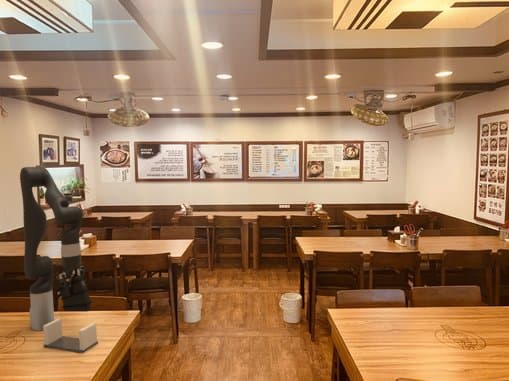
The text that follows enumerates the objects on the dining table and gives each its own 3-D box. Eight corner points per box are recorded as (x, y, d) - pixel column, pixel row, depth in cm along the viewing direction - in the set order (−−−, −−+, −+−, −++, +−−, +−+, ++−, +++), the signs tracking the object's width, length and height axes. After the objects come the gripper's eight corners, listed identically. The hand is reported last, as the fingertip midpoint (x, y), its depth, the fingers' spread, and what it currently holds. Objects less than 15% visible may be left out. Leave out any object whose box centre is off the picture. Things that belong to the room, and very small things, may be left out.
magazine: (93, 308, 163) (77, 276, 163) (68, 321, 165) (51, 289, 165) (98, 305, 167) (82, 273, 167) (73, 317, 169) (57, 286, 168)
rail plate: (43, 347, 163) (43, 344, 163) (60, 337, 172) (60, 335, 172) (82, 353, 157) (82, 350, 157) (98, 343, 166) (97, 340, 166)
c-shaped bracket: (44, 344, 164) (43, 325, 163) (59, 336, 171) (58, 318, 171) (83, 350, 158) (82, 331, 157) (97, 341, 165) (96, 323, 165)
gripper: (75, 249, 172) (78, 287, 173) (50, 257, 159) (53, 298, 160) (90, 250, 170) (92, 288, 171) (66, 258, 156) (68, 300, 158)
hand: (73, 293), depth 166 cm, fingers closed on magazine, 4 cm apart
